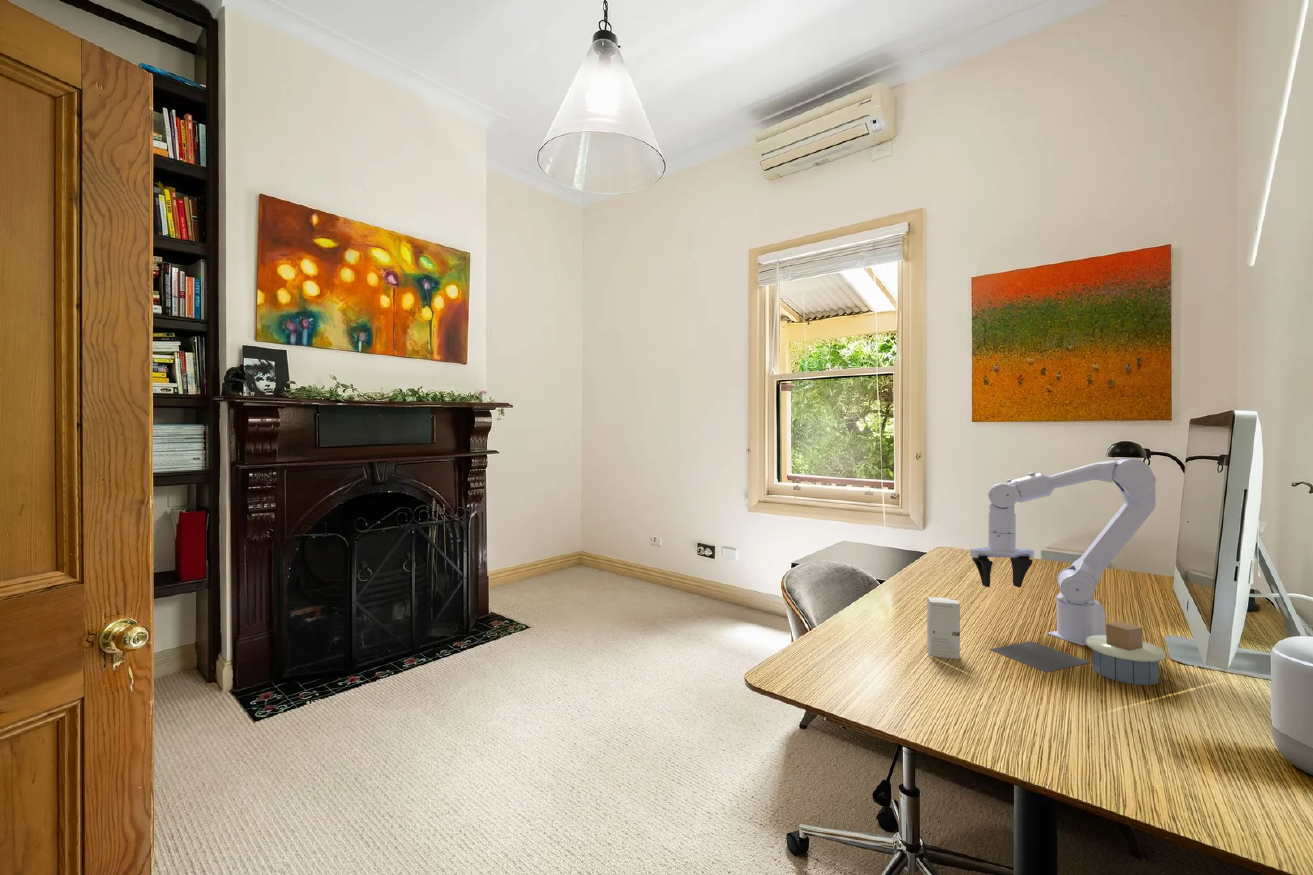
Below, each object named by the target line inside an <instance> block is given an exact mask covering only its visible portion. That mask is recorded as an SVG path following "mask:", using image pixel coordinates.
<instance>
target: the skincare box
mask: <svg viewBox="0 0 1313 875" xmlns="http://www.w3.org/2000/svg"><path fill="white" fill-rule="evenodd" d="M926 599H927V600H926V602H927V604H926V605H927V606H926V609H927V610H926V615H927V616H926V635H927V636H926V640H927V641H926V646H927V647H926V649H927V652H928V654H929V656H930V657H934V658H935V657H938V658H945V659H947V658H948V659H959V660H960V658H961V653H960V650H961V634H960V633H961V630H960V629H961V621H960V620H961V604H960V603H959V601H958V600H957V599H956V598H948V597H935V596H927V597H926Z"/></svg>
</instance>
